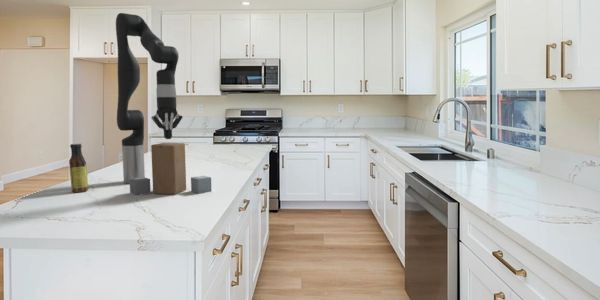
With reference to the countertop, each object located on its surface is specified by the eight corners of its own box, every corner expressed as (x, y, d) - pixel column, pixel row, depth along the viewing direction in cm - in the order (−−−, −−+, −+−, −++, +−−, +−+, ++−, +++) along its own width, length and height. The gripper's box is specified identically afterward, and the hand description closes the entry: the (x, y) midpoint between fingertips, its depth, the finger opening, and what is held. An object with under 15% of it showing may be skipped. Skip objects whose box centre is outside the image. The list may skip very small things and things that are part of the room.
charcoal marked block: (130, 193, 174) (129, 178, 173) (144, 191, 178) (143, 176, 178) (136, 195, 170) (135, 180, 169) (150, 193, 174) (150, 178, 173)
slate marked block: (191, 191, 178) (190, 176, 177) (204, 189, 182) (203, 174, 181) (198, 193, 173) (198, 178, 172) (211, 191, 177) (211, 176, 177)
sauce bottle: (91, 190, 179) (88, 143, 177) (78, 193, 174) (75, 144, 171) (80, 189, 182) (78, 142, 180) (67, 192, 176) (64, 144, 174)
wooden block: (175, 195, 171) (173, 145, 168) (152, 194, 173) (150, 144, 170) (186, 189, 180) (185, 142, 178) (165, 189, 182) (163, 142, 180)
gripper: (177, 96, 179) (178, 137, 181) (146, 96, 170) (148, 139, 172) (185, 96, 174) (187, 138, 176) (154, 95, 165) (156, 140, 167)
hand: (168, 138), depth 174 cm, fingers closed
